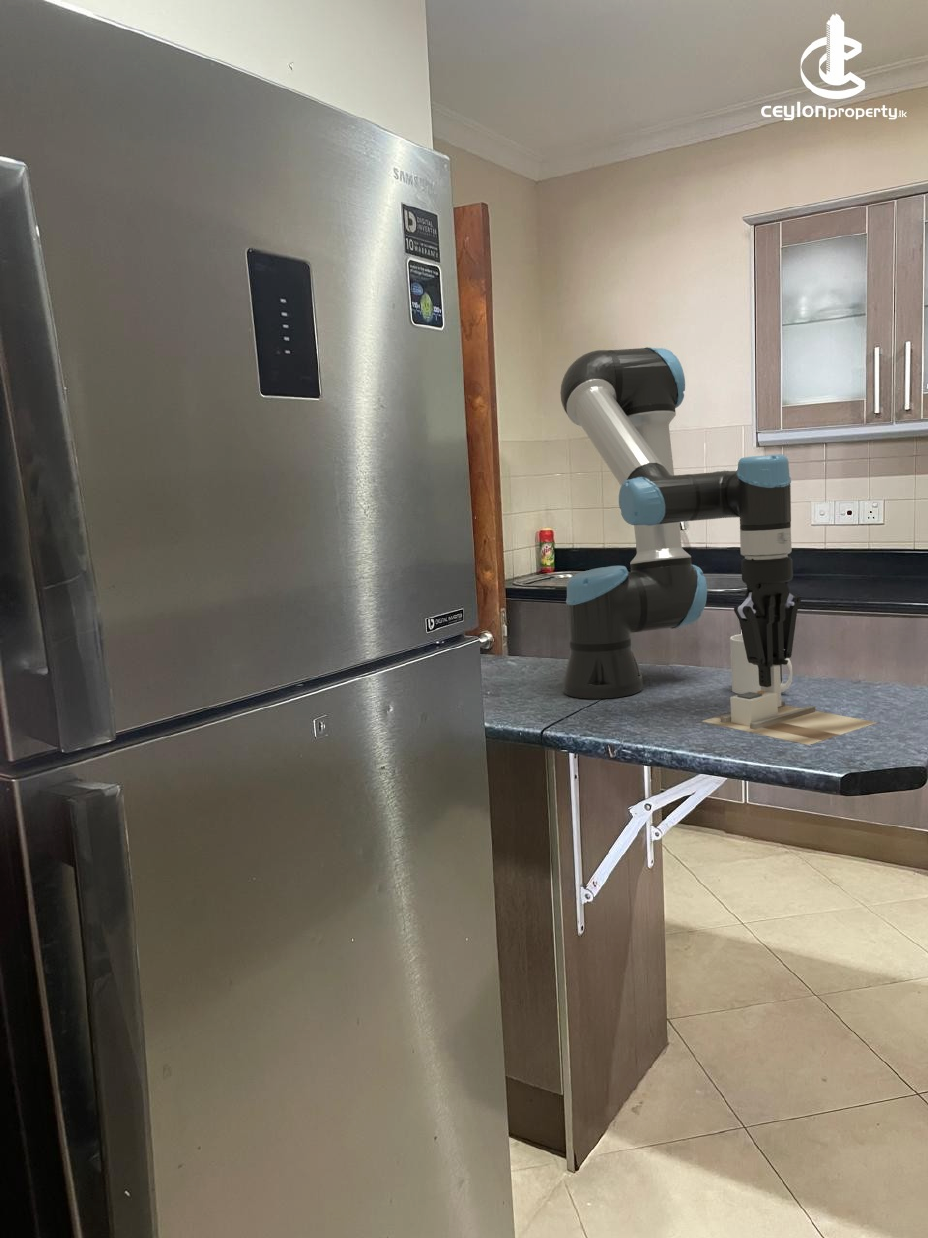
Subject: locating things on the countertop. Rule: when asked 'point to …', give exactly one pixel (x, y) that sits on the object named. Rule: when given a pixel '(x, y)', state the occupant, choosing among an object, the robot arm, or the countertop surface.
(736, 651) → the mug
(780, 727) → the subfloor panel
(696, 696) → the countertop surface
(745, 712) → the block
